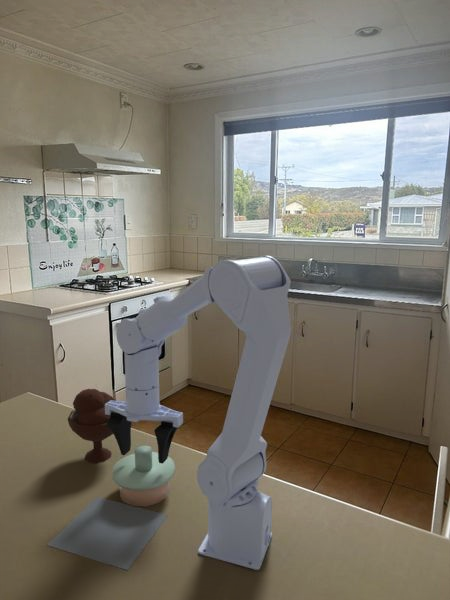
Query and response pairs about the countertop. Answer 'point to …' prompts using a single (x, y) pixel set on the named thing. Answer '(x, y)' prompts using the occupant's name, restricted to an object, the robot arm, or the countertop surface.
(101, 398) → the ice cream bowl
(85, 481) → the countertop surface
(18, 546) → the countertop surface
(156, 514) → the placemat
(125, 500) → the dish
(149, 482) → the lid
